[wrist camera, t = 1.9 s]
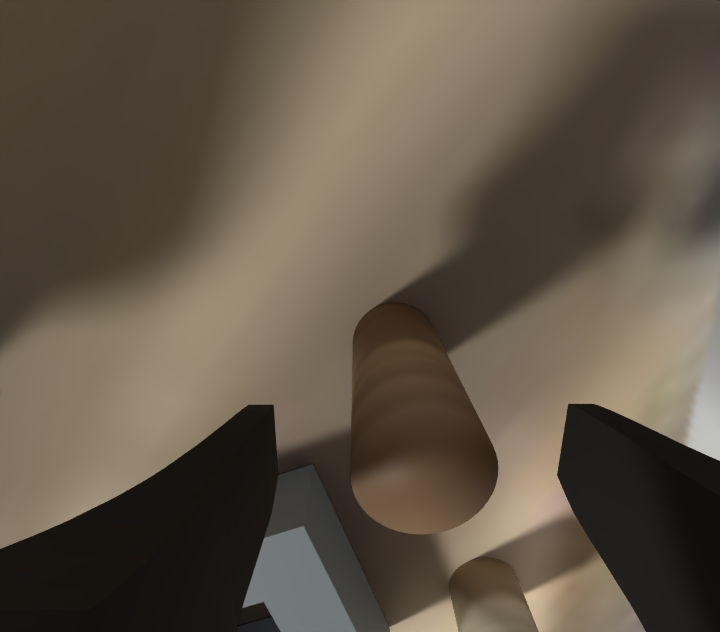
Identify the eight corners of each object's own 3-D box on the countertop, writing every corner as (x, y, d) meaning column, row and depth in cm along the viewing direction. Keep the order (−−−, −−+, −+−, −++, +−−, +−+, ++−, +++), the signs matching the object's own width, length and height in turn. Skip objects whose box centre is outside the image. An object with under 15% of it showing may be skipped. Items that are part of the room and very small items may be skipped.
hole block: (103, 530, 20) (53, 602, 17) (312, 463, 19) (303, 525, 16) (203, 679, 23) (177, 766, 19) (389, 628, 22) (395, 709, 18)
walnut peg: (340, 319, 17) (328, 437, 9) (421, 290, 17) (475, 388, 9) (369, 390, 18) (379, 550, 10) (445, 365, 18) (514, 510, 10)
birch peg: (440, 568, 21) (459, 657, 17) (507, 549, 20) (542, 636, 17) (459, 617, 22) (481, 711, 18) (524, 599, 21) (560, 692, 18)
